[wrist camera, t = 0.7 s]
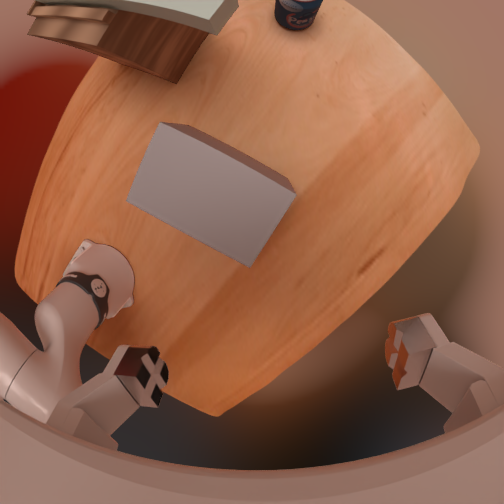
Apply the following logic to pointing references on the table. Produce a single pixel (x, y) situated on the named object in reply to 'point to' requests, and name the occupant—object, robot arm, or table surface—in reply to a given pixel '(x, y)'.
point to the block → (210, 191)
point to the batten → (170, 10)
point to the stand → (120, 36)
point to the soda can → (296, 13)
